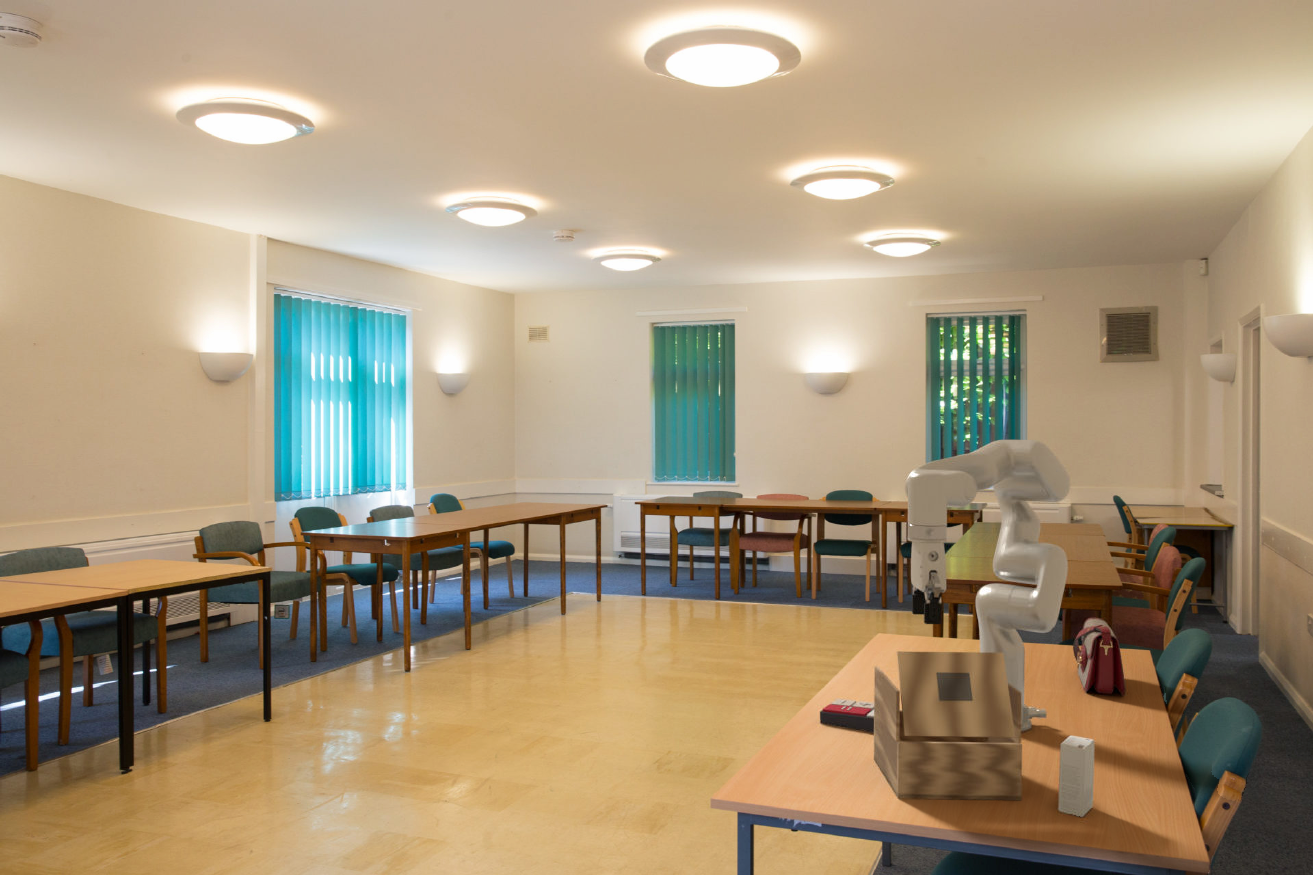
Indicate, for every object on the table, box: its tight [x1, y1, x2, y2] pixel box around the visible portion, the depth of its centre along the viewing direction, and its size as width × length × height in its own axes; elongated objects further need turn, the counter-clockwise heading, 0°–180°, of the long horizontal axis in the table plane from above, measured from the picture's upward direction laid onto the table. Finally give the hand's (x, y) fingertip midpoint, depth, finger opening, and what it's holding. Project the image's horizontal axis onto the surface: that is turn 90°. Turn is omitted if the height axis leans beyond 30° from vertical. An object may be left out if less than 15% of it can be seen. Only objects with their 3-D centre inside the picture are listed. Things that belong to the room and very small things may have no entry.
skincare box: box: [1057, 735, 1095, 818], centre depth 161 cm, size 6×4×12 cm
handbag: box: [1072, 617, 1126, 696], centre depth 244 cm, size 28×11×17 cm, turn 160°
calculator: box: [819, 698, 874, 734], centre depth 210 cm, size 11×4×15 cm
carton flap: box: [896, 651, 1015, 737], centre depth 169 cm, size 20×15×1 cm
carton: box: [873, 665, 1023, 801], centre depth 175 cm, size 22×20×19 cm
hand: (926, 618), depth 185 cm, fingers open, 9 cm apart
